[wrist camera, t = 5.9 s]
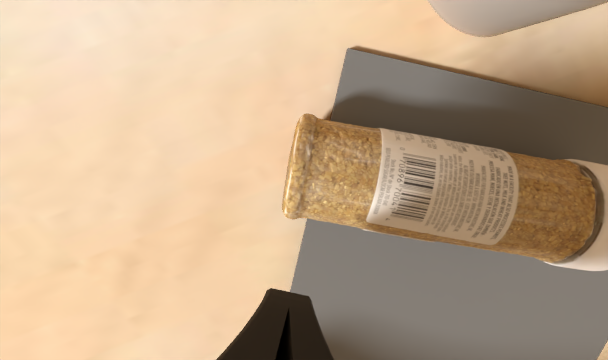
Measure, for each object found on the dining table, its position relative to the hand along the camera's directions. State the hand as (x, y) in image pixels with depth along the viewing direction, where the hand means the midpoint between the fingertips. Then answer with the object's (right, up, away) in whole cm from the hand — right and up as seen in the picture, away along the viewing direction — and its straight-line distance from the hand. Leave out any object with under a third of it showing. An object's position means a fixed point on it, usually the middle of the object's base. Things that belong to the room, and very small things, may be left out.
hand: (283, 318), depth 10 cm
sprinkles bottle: (0, +5, +4) cm, 6 cm away
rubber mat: (+10, 0, +7) cm, 12 cm away
